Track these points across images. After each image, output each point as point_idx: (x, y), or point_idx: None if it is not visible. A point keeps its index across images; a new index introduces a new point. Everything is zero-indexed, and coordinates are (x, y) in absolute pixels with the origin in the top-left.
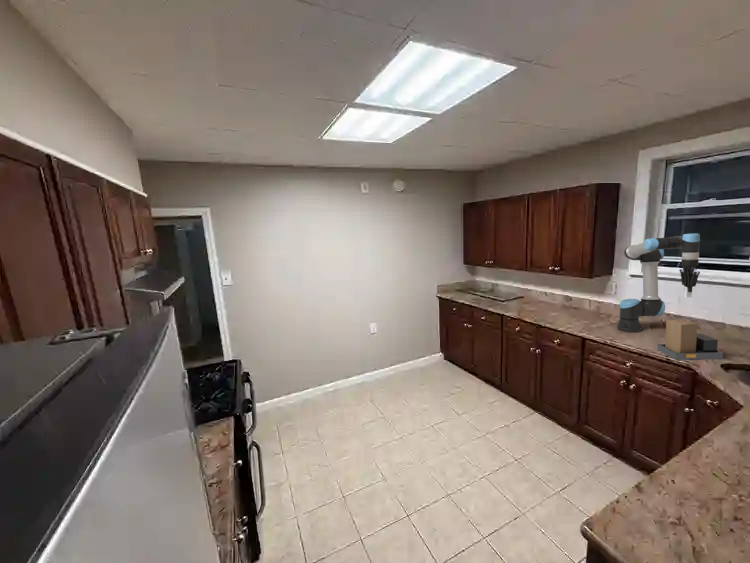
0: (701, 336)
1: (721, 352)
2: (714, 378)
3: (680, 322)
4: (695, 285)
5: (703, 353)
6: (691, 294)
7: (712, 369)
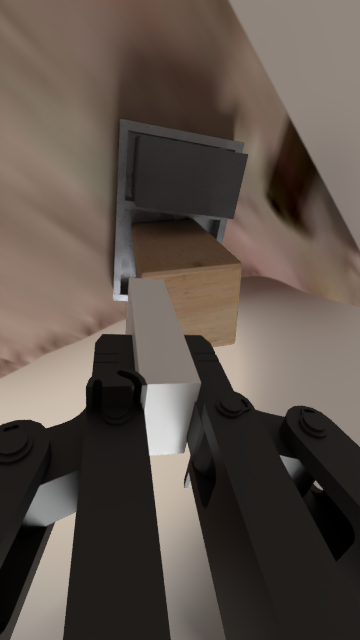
0: (186, 181)
1: (242, 149)
2: (321, 294)
3: (207, 328)
4: (332, 428)
5: (226, 219)
6: (169, 299)
7: (285, 255)
